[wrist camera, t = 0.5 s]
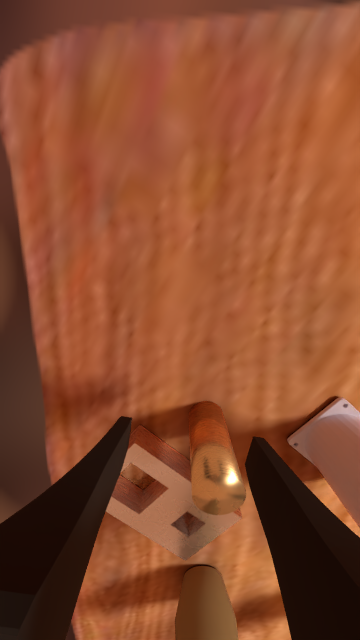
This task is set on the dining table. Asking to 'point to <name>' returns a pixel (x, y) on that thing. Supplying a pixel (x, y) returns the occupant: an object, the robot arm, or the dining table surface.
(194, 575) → the squeeze bottle
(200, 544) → the plate
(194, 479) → the brass fitting
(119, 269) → the dining table surface
